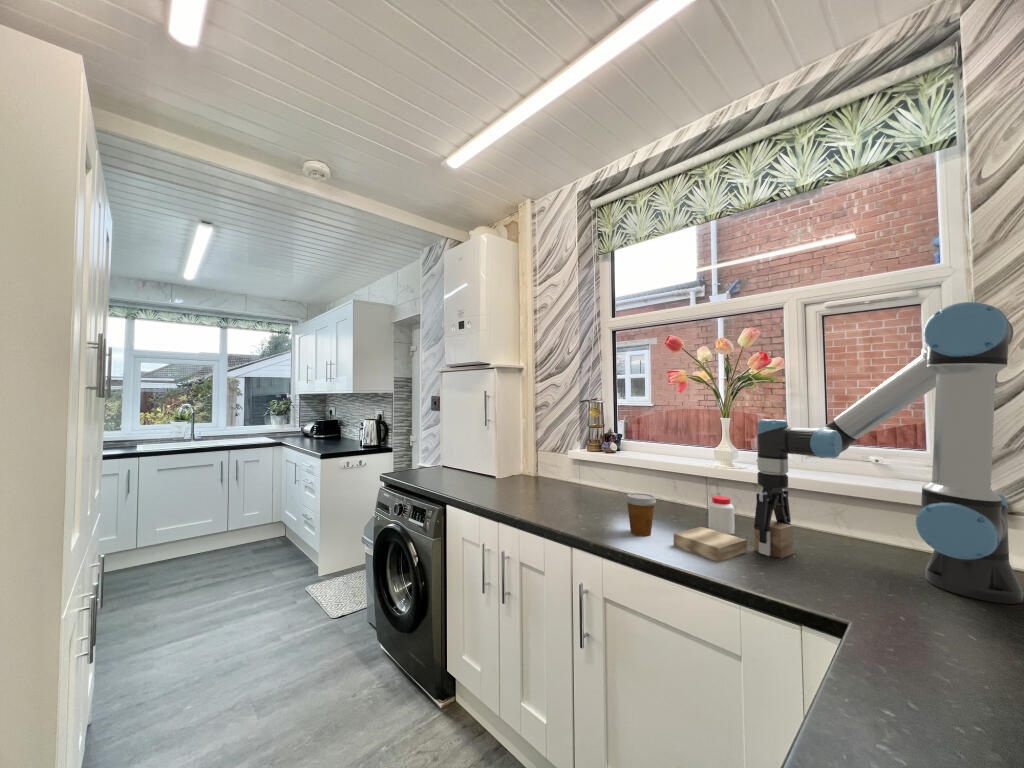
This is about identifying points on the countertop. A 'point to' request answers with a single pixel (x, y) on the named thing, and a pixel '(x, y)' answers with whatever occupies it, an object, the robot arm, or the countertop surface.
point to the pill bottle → (721, 515)
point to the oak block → (710, 543)
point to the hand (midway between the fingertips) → (773, 550)
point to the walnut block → (778, 539)
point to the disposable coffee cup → (640, 513)
